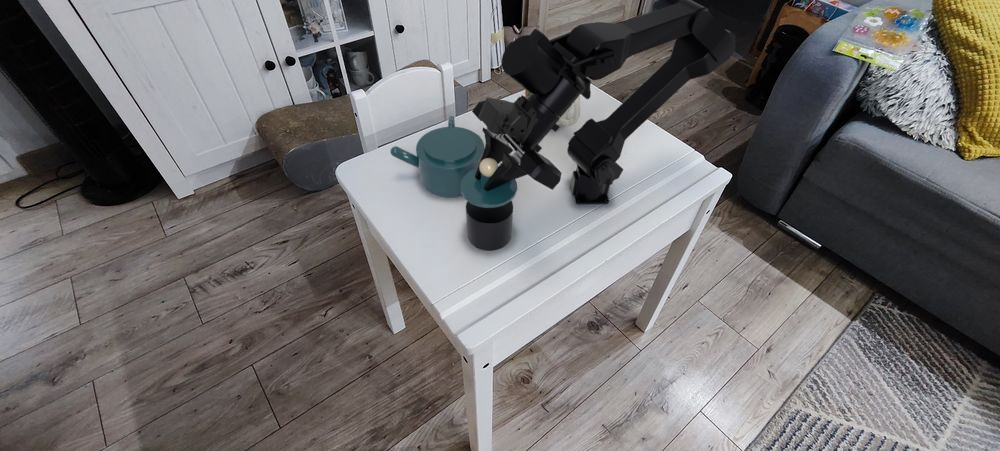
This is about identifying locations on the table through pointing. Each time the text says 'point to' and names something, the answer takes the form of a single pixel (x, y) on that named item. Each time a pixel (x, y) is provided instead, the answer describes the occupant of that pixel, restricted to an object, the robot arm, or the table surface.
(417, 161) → the teapot
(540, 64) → the robot arm
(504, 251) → the table surface
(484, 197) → the teapot lid
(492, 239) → the tea tin
